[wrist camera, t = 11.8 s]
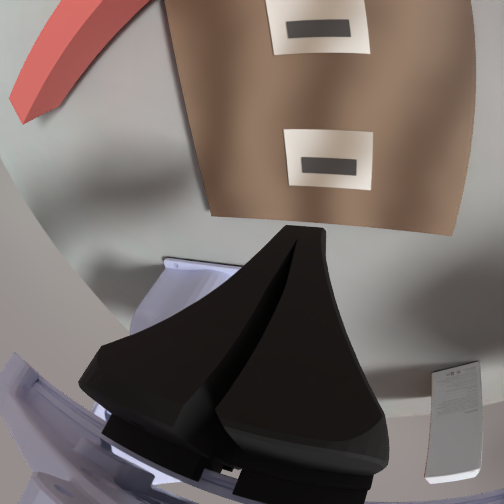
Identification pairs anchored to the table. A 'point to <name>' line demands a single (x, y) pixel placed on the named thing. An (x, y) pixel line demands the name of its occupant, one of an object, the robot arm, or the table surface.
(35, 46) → the swing arm
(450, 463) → the small box
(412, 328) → the table surface
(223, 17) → the label board
